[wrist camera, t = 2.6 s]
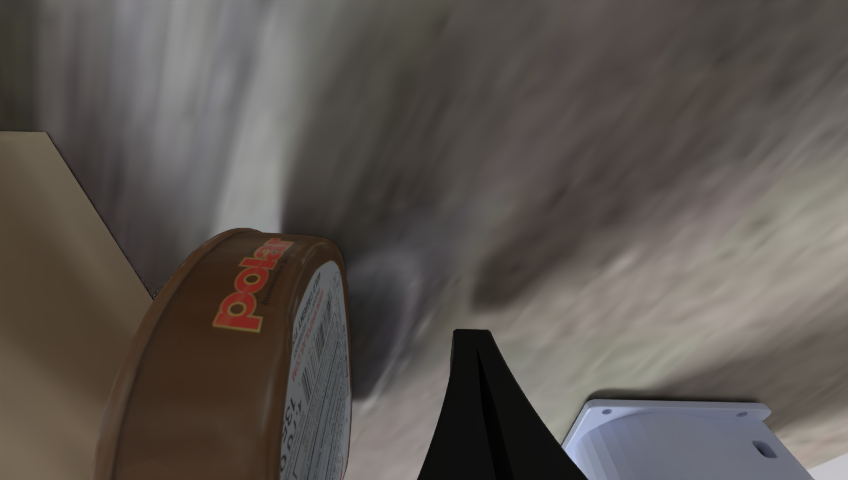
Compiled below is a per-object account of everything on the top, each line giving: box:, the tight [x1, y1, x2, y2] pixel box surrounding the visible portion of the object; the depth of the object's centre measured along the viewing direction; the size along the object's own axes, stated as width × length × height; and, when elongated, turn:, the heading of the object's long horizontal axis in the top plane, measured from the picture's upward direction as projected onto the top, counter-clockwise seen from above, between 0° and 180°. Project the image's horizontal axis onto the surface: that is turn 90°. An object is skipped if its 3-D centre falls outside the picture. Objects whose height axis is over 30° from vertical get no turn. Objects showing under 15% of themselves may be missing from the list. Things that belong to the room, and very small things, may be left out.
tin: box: [91, 228, 352, 480], centre depth 10 cm, size 15×3×8 cm, turn 174°
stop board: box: [0, 131, 153, 480], centre depth 13 cm, size 3×24×6 cm, turn 179°
